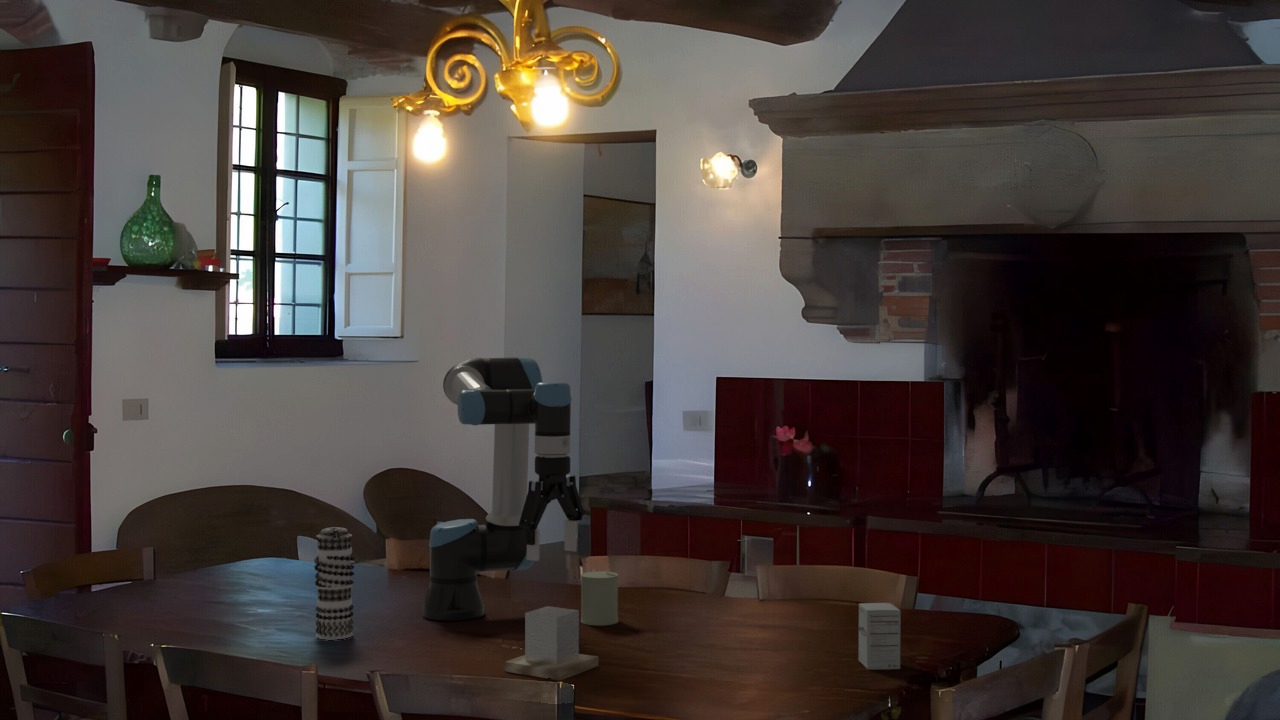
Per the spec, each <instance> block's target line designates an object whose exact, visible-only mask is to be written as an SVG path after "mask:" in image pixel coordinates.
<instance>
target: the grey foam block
mask: <svg viewBox="0 0 1280 720" xmlns="http://www.w3.org/2000/svg"><path fill="white" fill-rule="evenodd" d="M579 616H580V613H579V609H571V608H565V607H558V606H557V607H556V606H549V605H547V606H543V607H540V608H537V609H534V610H529V611H526V612H525V613H524V621H525V624H524V626H525V627H524V633H525V634H524V635H525V636H524V637H525V638H524V639H525V641H524V646H525V647H524V651H525V653H524V655H525V661H531V662H537V663H543V664H550V665H556V666H557V665H560V664H563V663H565V662H568V661H571V660H574V659H576V658H579V654H580V646H579V645H580V643H579V641H580V639H579V637H580V634H579V631H580V629H579V628H580V619H579V618H580V617H579Z"/></svg>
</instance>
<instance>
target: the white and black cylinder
mask: <svg viewBox="0 0 1280 720" xmlns="http://www.w3.org/2000/svg"><path fill="white" fill-rule="evenodd" d="M348 530H349V529H348V528H345V527H340V526H339V527H336V526H335V527H334V526H333V527H332V526H331V527H325V528H323V529H321V531H320V532H319V534H317V535H316V536H315V537H317V548H316V552H317V553H316V555H317V556H316V557H315V558H314V561H313V562H314V564H315V565H314V570H315V571H316V573H315V575H314V577H315V581H314V583H315V588H317V600H316V603H317V606H316V607H315V611H316V612H317V613H316V614H315V618H316V619H317V620H316V621H315V626H316V627H315V633H316V635H315V638H316V637H318V638H323V639H340V638H347V637H351V636H352V635H353V636H354V633H353V631H354V628H355V627H354V626H353V624H354V623H355V622H354V619H353V618H352V617H353V616H354V612H353V611H352V610H354V605H353V597H352V587H353V586H354V583H355V582H354V580H352V579H351V577H353V576H354V575H355V572H354V571H353V569H354V568H355V565H354V564H352V563H351V562H353V561H354V560H356V557H355V556H354V554H355V551H353V547H352V536H353V534H352V533H350V532H349V531H348ZM351 638H352V637H351Z"/></svg>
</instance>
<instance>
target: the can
mask: <svg viewBox="0 0 1280 720" xmlns="http://www.w3.org/2000/svg"><path fill="white" fill-rule="evenodd" d="M580 577H581V578H580V580H581V582H580V583H581V584H580V585H581V592H580V593H581V600H580V601H581V602H580V603H581V606H580V607H581V609H580V610H581V611H580V612H581V615H580V616H581V617H580V618H581V619H580V622H581V624H584V625H588V626H597V627H598V626H602V627H603V626H612V625H615V624H618V623H619V610H618V609H619V605H618V603H619V597H618V596H619V592H618V591H619V590H618V588H619V574H618V573H617V572H613V571H603V570H602V571H601V570H600V571H586V572H583V573H581V574H580Z"/></svg>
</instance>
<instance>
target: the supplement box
mask: <svg viewBox="0 0 1280 720" xmlns="http://www.w3.org/2000/svg"><path fill="white" fill-rule="evenodd" d="M901 615H902V614H901V609H899V608H898V607H897V606H895V604H893V603H890V602H868V603H867V602H865V603H858V662H860V663H861V664H862V665H863V666H864V667H865V669H866V670H868V671H869V670H873V671H874V670H900V669H901V626H902V625H901V622H902V621H901Z"/></svg>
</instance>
